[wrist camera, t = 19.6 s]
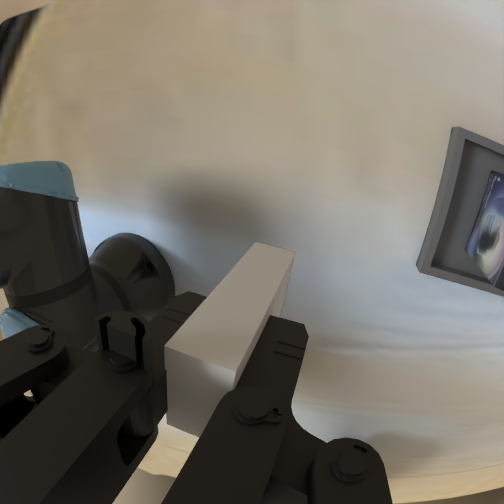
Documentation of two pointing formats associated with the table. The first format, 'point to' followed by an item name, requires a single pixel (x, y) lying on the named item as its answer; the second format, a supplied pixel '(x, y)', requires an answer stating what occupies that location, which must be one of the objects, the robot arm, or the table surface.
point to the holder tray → (460, 209)
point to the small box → (490, 232)
